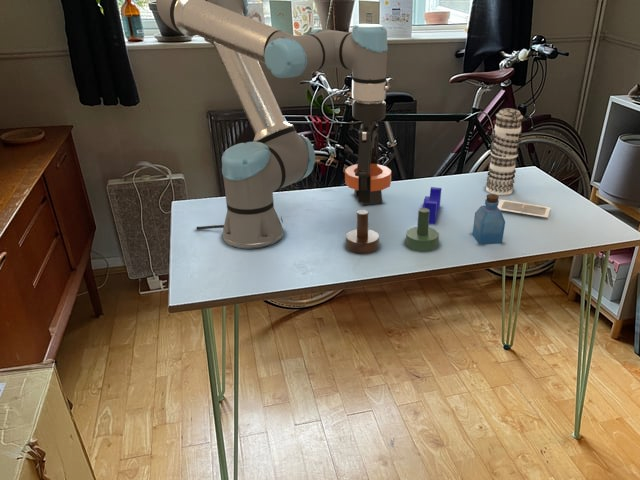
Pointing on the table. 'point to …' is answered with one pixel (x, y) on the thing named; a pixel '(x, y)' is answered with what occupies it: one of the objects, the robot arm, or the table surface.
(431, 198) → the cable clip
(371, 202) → the phone stand
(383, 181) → the ring
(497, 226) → the perfume bottle
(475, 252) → the table surface
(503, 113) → the decorative candle
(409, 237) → the sage peg
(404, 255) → the table surface
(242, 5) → the robot arm
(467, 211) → the table surface
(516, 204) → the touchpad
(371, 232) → the walnut peg
